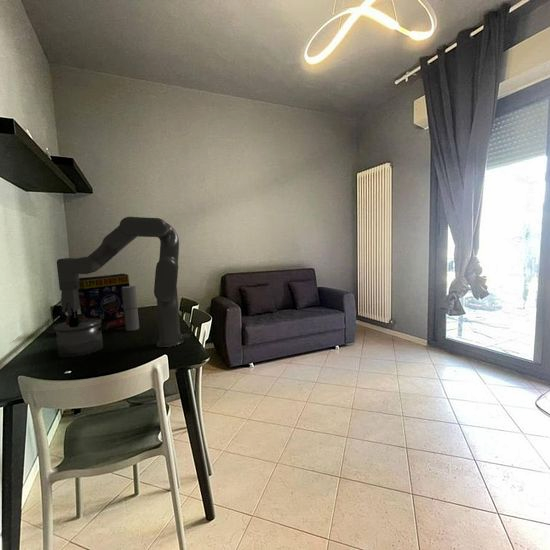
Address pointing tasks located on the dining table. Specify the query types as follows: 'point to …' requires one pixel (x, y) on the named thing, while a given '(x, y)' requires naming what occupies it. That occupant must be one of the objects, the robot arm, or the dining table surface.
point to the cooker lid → (82, 325)
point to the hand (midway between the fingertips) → (74, 326)
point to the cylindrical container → (130, 308)
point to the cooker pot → (79, 341)
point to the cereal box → (103, 298)
